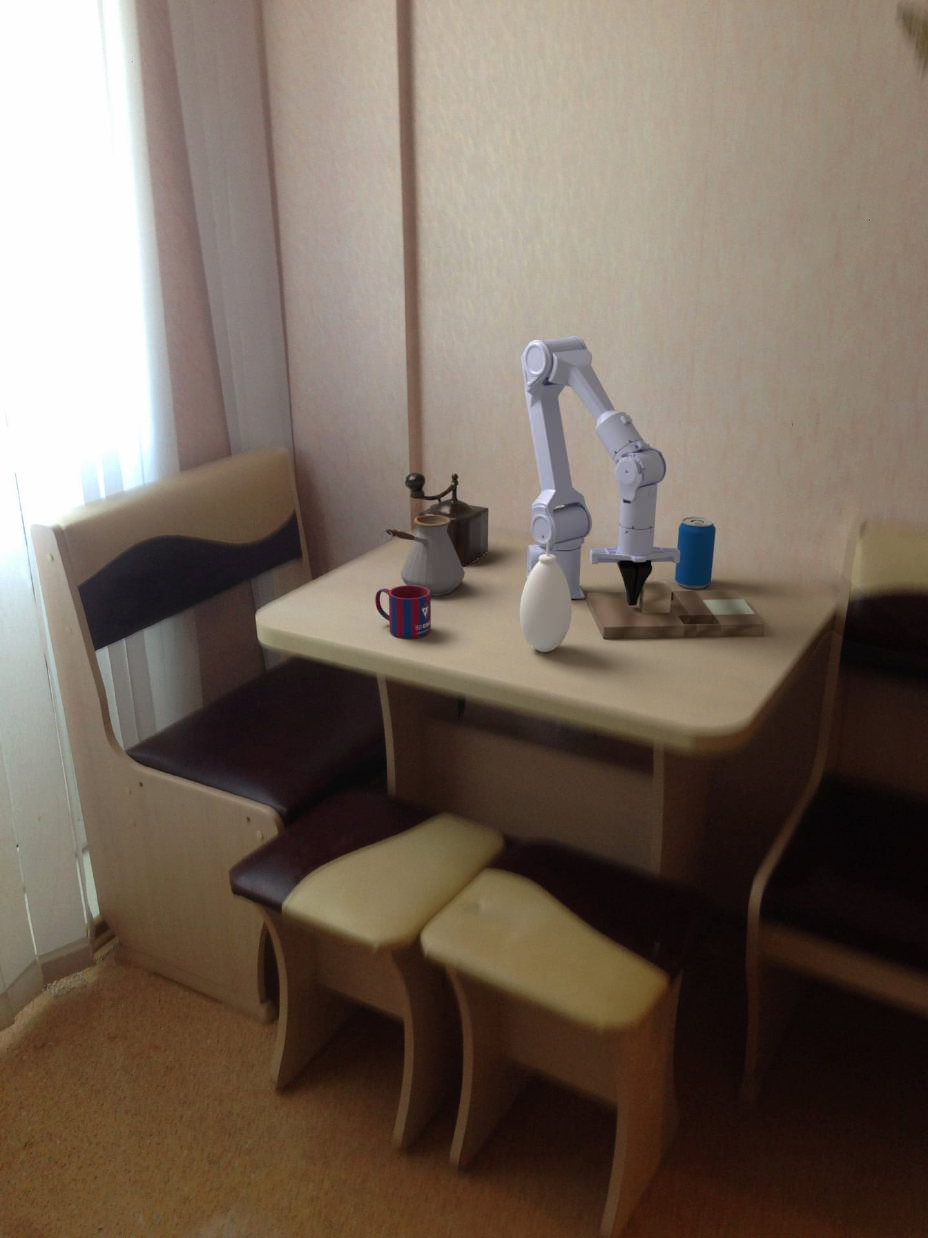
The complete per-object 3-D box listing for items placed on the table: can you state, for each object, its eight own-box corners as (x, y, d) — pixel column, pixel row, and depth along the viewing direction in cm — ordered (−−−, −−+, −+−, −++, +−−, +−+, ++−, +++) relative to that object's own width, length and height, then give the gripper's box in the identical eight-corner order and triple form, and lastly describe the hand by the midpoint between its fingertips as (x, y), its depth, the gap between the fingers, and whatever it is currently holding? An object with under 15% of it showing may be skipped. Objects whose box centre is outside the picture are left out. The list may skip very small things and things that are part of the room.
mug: (412, 642, 170) (411, 602, 168) (366, 627, 176) (365, 588, 174) (439, 630, 175) (439, 590, 173) (393, 616, 181) (393, 577, 179)
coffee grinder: (440, 544, 219) (440, 457, 212) (489, 552, 214) (490, 463, 207) (401, 566, 206) (399, 473, 199) (452, 575, 201) (452, 480, 194)
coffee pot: (421, 574, 201) (420, 496, 196) (475, 584, 196) (476, 504, 191) (358, 610, 184) (355, 525, 178) (416, 622, 179) (415, 535, 173)
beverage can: (708, 579, 199) (714, 516, 195) (712, 591, 193) (718, 526, 189) (673, 578, 200) (677, 515, 195) (676, 589, 194) (681, 525, 189)
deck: (603, 638, 172) (604, 627, 171) (586, 603, 187) (587, 592, 186) (763, 635, 174) (764, 624, 173) (733, 601, 188) (734, 590, 188)
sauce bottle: (556, 663, 163) (561, 549, 156) (510, 653, 166) (513, 542, 160) (577, 646, 169) (582, 536, 163) (532, 636, 173) (535, 528, 166)
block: (642, 613, 177) (644, 590, 176) (637, 603, 181) (638, 581, 180) (669, 612, 177) (671, 589, 176) (663, 603, 182) (665, 580, 180)
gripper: (596, 532, 170) (592, 612, 175) (687, 531, 170) (680, 611, 175) (589, 519, 176) (585, 597, 181) (676, 518, 177) (670, 596, 182)
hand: (631, 603), depth 179 cm, fingers closed
